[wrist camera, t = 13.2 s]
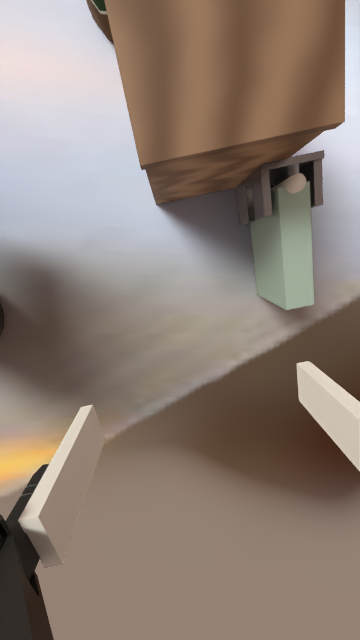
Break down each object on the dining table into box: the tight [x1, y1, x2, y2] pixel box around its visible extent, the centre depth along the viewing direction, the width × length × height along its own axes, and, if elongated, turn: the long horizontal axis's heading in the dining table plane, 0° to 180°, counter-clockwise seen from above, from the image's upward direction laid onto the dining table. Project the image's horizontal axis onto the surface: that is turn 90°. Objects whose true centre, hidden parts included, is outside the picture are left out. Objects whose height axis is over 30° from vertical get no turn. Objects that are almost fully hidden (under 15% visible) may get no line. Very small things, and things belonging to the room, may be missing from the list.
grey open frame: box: [236, 150, 324, 225], centre depth 35 cm, size 8×6×12 cm
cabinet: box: [104, 0, 345, 205], centre depth 29 cm, size 18×13×21 cm
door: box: [250, 173, 314, 310], centre depth 37 cm, size 5×17×13 cm, turn 11°
